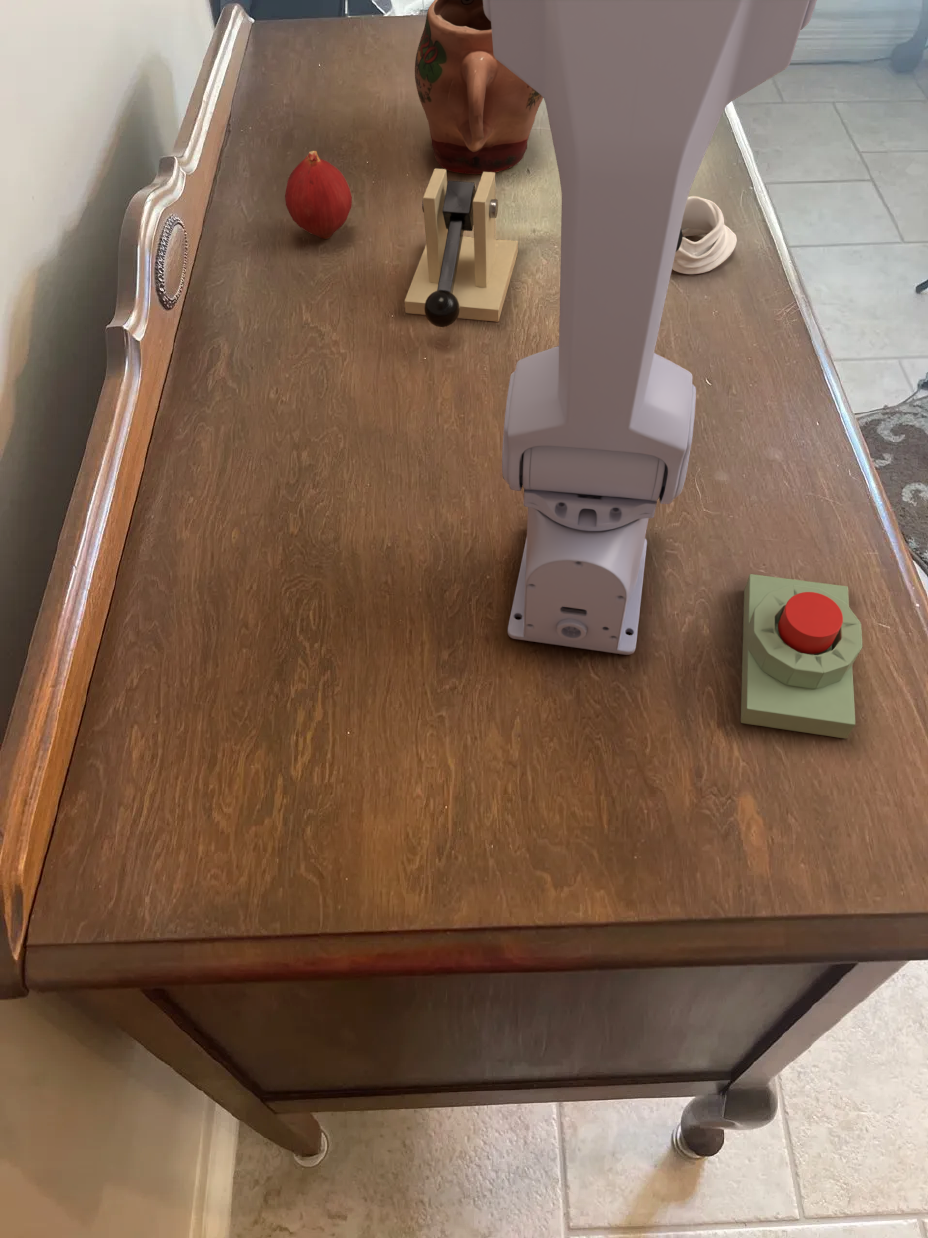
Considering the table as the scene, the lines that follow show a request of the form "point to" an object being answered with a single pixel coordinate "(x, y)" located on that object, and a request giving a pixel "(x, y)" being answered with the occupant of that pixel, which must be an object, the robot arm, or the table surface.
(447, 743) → the table surface
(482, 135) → the decorative planter
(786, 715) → the button block
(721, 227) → the beige draped scarf
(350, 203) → the red squash
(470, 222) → the lever
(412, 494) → the table surface
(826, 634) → the button
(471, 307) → the beige wooden stand
